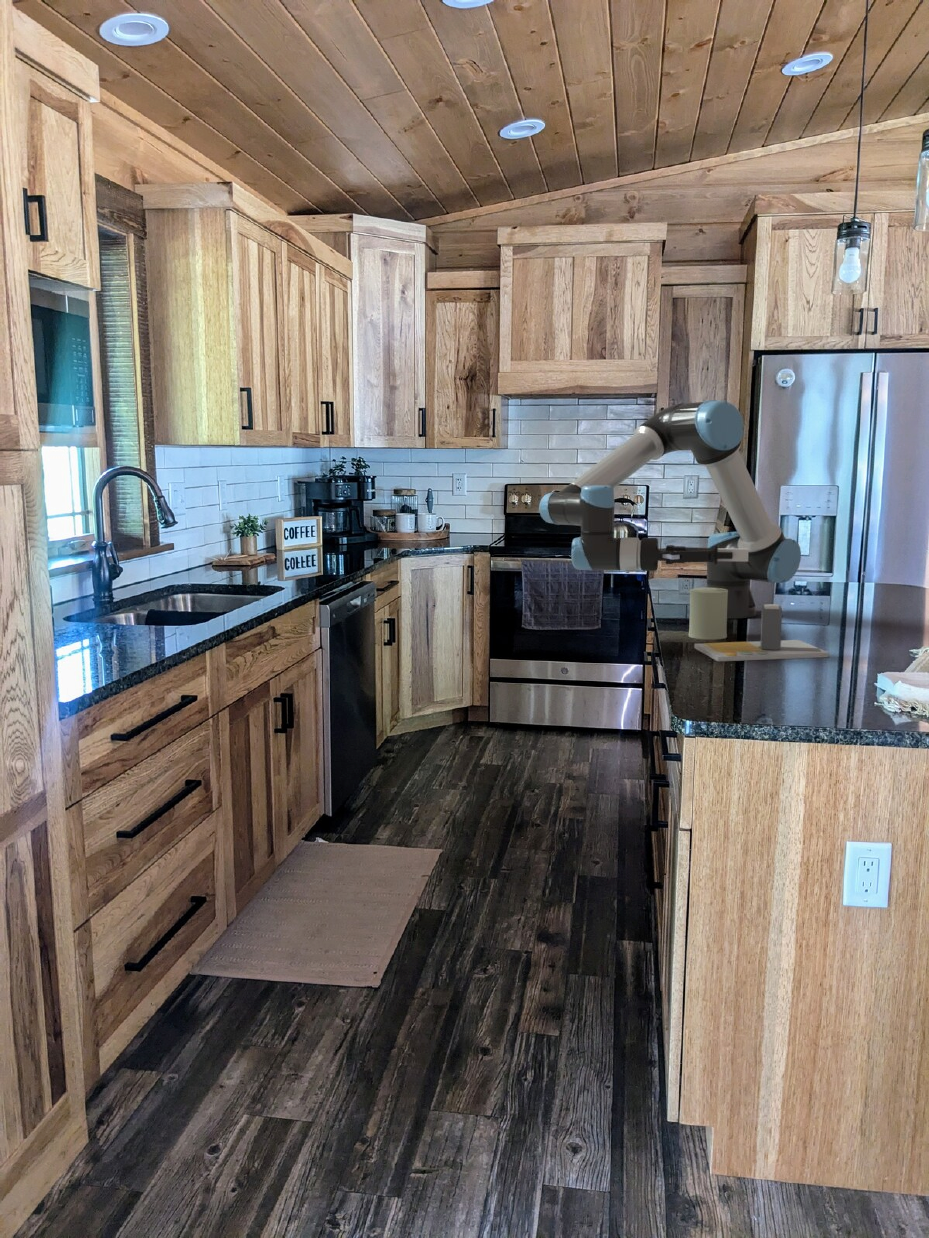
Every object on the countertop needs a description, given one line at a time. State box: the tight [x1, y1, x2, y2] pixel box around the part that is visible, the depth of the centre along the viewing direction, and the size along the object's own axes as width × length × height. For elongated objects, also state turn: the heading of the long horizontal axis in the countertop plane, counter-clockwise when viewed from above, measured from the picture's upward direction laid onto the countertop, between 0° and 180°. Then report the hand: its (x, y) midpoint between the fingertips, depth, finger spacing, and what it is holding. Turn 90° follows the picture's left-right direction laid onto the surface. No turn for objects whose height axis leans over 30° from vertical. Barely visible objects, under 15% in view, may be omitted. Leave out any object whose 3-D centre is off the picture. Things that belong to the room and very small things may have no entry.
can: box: [688, 587, 728, 641], centre depth 232 cm, size 9×9×12 cm
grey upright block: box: [760, 603, 783, 650], centre depth 211 cm, size 4×5×9 cm
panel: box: [694, 639, 830, 662], centre depth 213 cm, size 25×15×1 cm, turn 96°
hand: (748, 555), depth 210 cm, fingers closed
